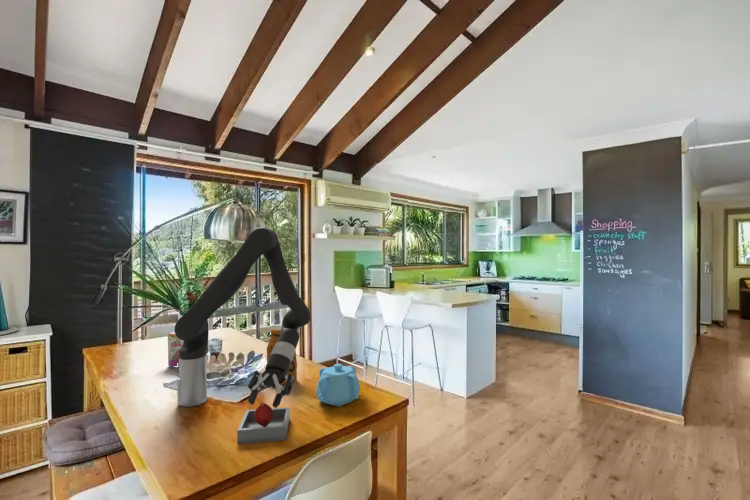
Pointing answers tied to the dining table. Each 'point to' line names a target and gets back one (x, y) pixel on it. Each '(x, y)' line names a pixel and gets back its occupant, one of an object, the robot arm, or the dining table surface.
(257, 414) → the onion
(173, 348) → the candy bar box
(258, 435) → the bin
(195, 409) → the dining table surface
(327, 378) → the decorative pot
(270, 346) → the coffee package
